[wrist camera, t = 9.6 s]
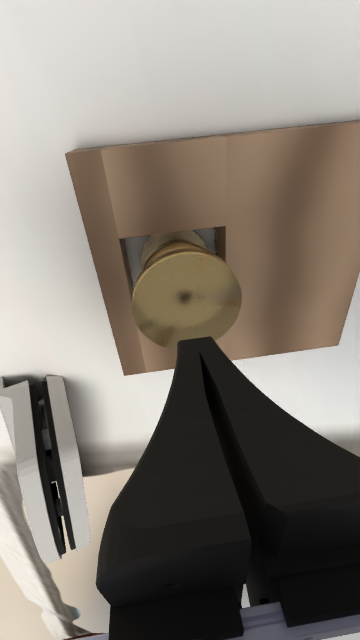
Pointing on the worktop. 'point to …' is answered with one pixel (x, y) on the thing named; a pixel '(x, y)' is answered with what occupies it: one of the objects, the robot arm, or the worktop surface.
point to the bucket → (85, 636)
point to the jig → (233, 229)
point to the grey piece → (47, 464)
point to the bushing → (184, 290)
